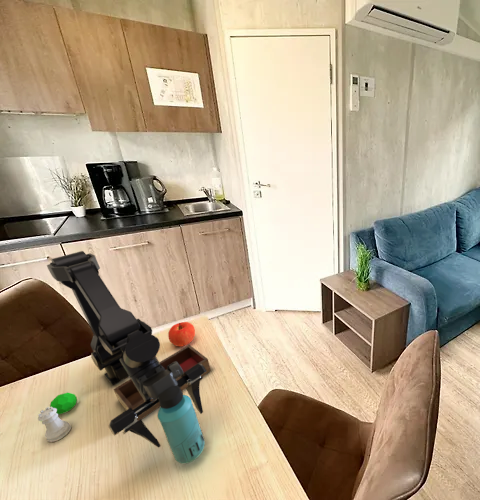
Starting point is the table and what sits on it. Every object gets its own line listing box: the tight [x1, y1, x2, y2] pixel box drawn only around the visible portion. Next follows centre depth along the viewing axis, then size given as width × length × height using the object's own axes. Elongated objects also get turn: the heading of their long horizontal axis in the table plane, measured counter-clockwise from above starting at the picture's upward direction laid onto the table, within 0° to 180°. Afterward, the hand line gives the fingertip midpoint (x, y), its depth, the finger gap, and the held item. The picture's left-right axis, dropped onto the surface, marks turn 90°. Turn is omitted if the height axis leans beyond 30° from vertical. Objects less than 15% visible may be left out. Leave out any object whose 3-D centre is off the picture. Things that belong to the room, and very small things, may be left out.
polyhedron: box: [49, 392, 78, 415], centre depth 74 cm, size 5×5×5 cm
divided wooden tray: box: [113, 344, 212, 421], centre depth 81 cm, size 11×20×5 cm, turn 146°
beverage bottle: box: [157, 386, 206, 465], centre depth 62 cm, size 6×7×20 cm
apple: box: [167, 321, 196, 347], centre depth 97 cm, size 8×8×8 cm
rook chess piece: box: [37, 406, 72, 443], centre depth 68 cm, size 4×4×8 cm
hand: (181, 429), depth 63 cm, fingers open, 9 cm apart
